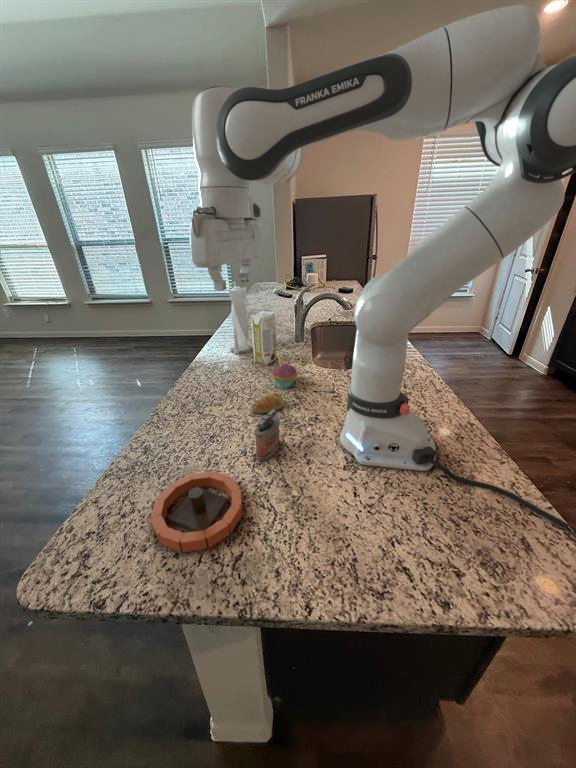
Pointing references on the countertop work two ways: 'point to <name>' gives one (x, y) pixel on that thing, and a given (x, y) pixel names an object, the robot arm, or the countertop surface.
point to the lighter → (267, 436)
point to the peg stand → (198, 510)
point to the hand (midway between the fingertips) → (233, 285)
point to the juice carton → (264, 337)
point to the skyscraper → (239, 319)
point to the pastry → (268, 403)
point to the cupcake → (283, 374)
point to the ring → (198, 538)
